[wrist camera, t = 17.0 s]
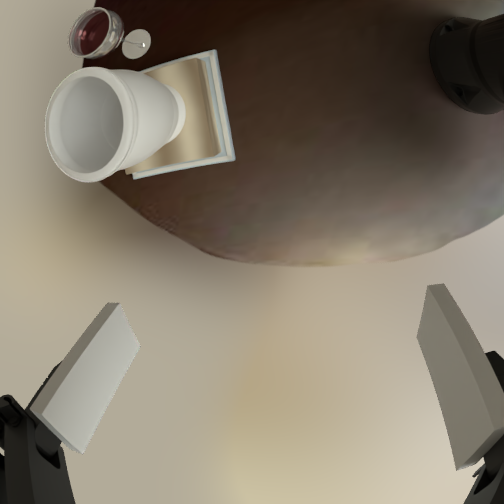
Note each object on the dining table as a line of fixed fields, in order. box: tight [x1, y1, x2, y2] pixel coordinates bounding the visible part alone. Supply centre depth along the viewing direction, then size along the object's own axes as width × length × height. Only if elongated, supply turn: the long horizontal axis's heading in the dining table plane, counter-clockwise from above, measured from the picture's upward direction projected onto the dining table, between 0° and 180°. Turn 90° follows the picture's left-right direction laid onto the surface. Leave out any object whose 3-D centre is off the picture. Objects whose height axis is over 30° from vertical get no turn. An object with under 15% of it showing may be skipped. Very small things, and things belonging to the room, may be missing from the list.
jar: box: [45, 67, 186, 182], centre depth 27 cm, size 11×10×15 cm
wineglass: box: [68, 7, 151, 59], centre depth 28 cm, size 7×7×12 cm
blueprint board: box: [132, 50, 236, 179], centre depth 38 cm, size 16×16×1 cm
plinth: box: [125, 58, 222, 175], centre depth 35 cm, size 13×13×4 cm
